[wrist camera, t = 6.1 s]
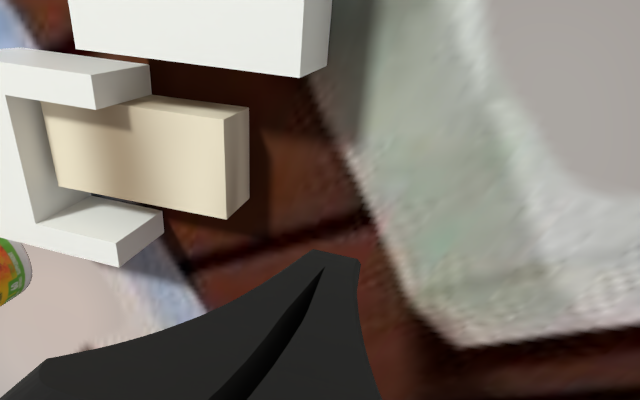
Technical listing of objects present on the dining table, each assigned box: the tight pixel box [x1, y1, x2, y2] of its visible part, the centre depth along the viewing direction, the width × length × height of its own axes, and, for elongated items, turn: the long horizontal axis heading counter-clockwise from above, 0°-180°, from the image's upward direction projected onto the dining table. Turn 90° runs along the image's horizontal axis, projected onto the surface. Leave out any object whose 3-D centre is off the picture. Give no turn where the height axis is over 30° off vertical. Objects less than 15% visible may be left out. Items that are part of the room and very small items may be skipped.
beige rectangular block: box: [40, 95, 250, 220], centre depth 18 cm, size 8×4×2 cm, turn 86°
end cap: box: [0, 47, 164, 267], centre depth 18 cm, size 6×8×3 cm
